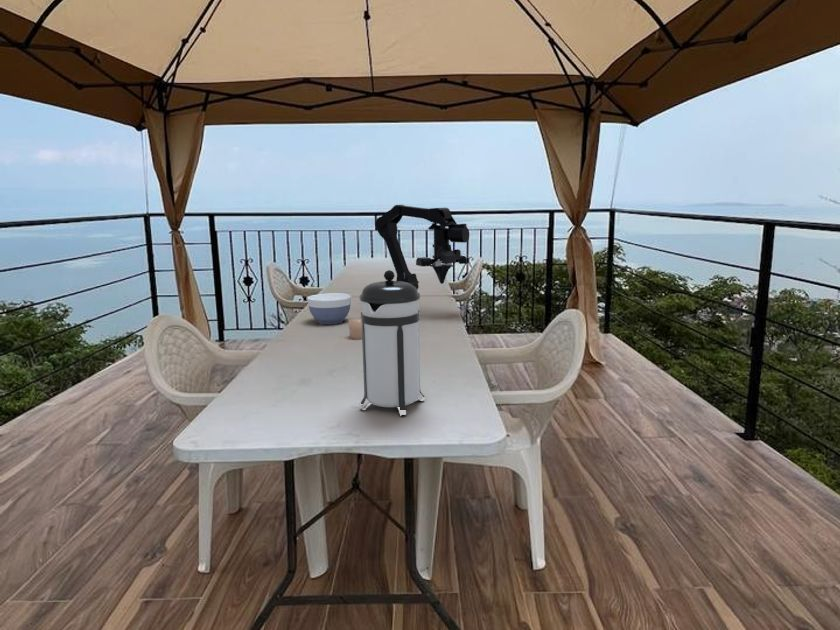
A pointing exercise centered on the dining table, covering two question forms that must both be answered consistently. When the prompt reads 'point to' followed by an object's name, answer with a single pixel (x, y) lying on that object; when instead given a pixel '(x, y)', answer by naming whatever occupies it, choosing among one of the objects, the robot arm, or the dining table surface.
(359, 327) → the tan block
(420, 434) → the dining table surface
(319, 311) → the bowl
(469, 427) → the dining table surface
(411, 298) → the coffee press
